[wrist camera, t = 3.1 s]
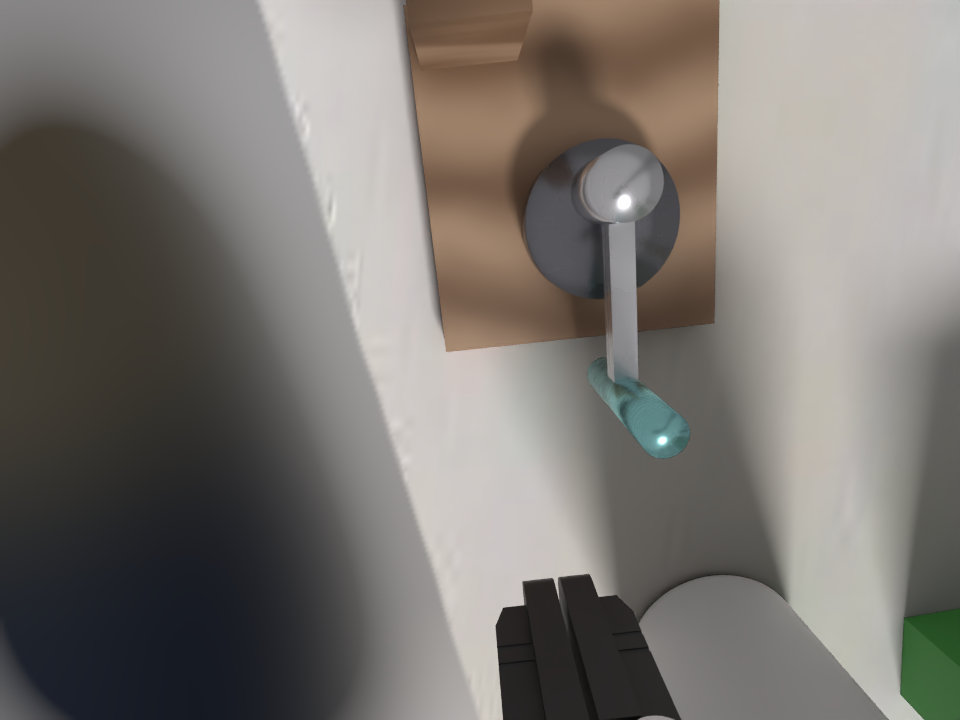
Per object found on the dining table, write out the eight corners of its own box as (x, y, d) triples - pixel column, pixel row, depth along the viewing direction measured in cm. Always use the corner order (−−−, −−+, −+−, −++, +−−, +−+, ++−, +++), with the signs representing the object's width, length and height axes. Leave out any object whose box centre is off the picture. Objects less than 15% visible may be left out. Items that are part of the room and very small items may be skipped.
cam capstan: (515, 153, 27) (545, 108, 17) (664, 137, 27) (778, 84, 17) (534, 392, 30) (568, 468, 20) (666, 378, 30) (762, 447, 20)
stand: (406, 10, 27) (383, -79, 19) (701, -20, 27) (797, -122, 19) (447, 344, 31) (441, 381, 24) (699, 317, 32) (775, 345, 24)
